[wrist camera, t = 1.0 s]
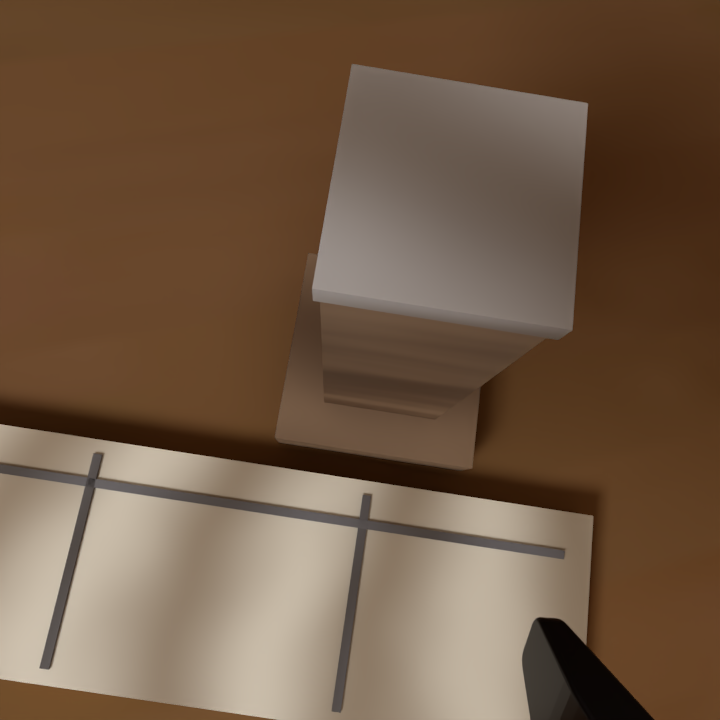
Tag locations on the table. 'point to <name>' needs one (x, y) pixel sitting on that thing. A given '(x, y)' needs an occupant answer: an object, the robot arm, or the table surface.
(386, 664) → the ash board
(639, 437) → the table surface
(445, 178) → the square column stand
